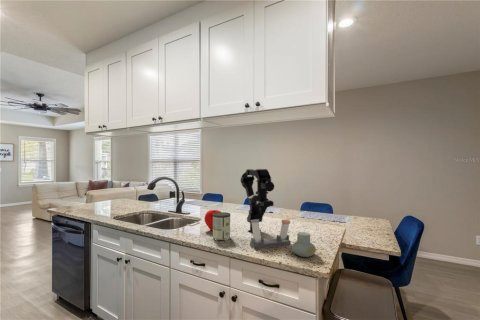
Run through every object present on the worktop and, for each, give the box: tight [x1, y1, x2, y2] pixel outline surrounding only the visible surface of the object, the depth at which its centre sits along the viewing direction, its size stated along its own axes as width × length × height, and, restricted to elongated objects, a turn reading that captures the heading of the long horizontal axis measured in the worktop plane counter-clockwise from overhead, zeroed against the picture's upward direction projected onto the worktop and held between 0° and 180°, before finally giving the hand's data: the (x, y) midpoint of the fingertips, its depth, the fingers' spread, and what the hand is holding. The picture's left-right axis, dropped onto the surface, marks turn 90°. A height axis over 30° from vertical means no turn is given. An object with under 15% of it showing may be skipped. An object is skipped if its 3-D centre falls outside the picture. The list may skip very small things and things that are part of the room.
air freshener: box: [291, 231, 317, 258], centre depth 112 cm, size 11×8×10 cm
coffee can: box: [212, 211, 231, 241], centre depth 138 cm, size 10×10×14 cm
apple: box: [204, 209, 222, 231], centre depth 155 cm, size 12×12×13 cm
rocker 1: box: [251, 219, 262, 242], centre depth 125 cm, size 2×4×11 cm, turn 110°
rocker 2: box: [279, 218, 291, 239], centre depth 127 cm, size 2×4×11 cm, turn 110°
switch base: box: [249, 234, 292, 250], centre depth 126 cm, size 6×21×4 cm, turn 110°
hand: (262, 216), depth 142 cm, fingers closed
